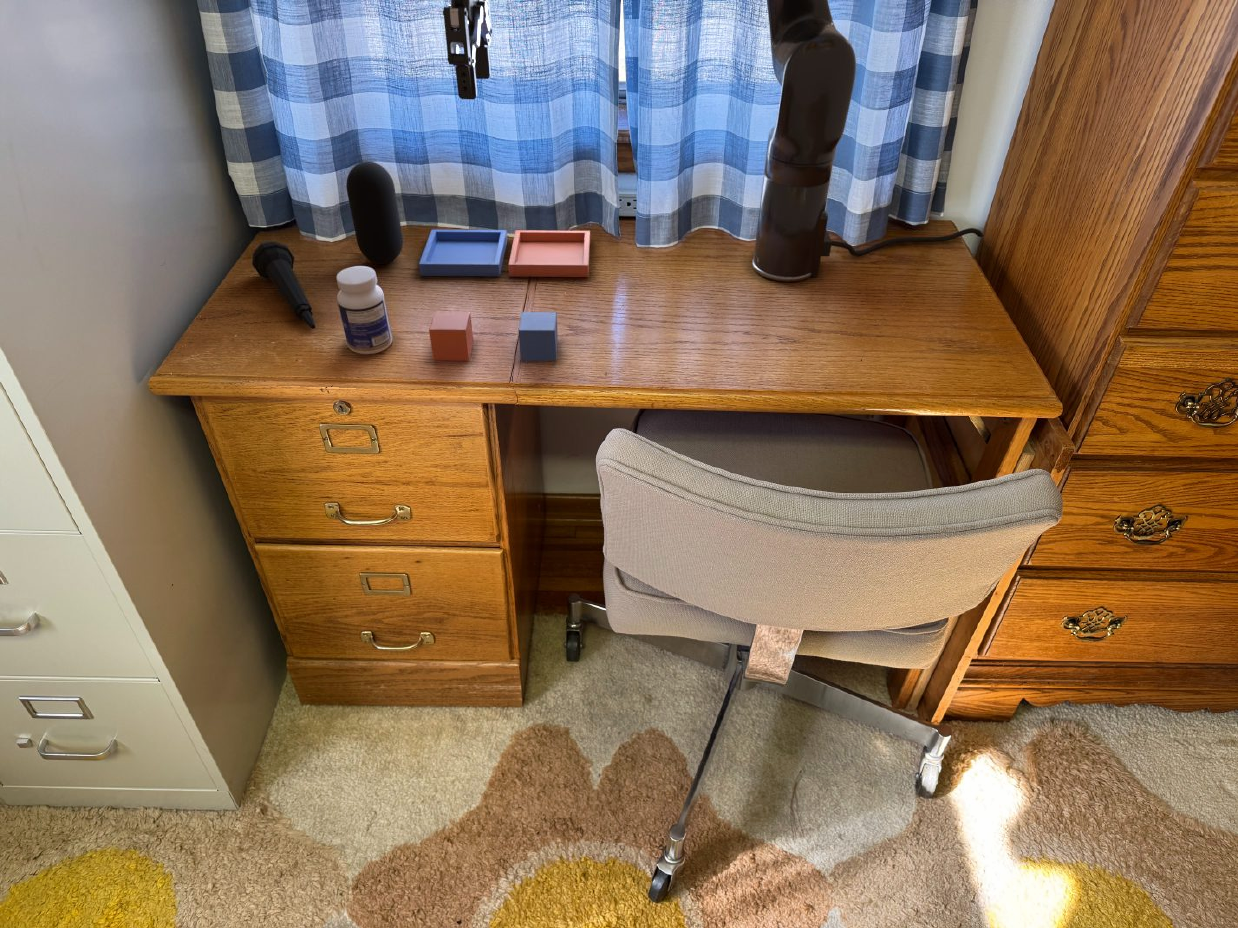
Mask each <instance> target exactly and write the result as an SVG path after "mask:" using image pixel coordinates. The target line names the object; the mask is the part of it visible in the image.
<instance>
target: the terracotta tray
mask: <svg viewBox="0 0 1238 928" xmlns="http://www.w3.org/2000/svg"><path fill="white" fill-rule="evenodd" d="M512 241H513V242H512V246H511V251H510V256H509V261H508V265H507V266H508V276H509V277H527V278H528V277H533V278H535V277H538V278H539V277H541V278H543V277H545V278H547V277H548V278H555V277H556V278H589V274H590V273H589V270H590V253H591V230H545V229H544V230H542V229H541V230H539V229H538V230H537V229H536V230H535V229H534V230H533V229H530V230H529V229H528V230H526V229H524V230H523V229H520V230H519V229H516V230H514V236H513V239H512Z"/></svg>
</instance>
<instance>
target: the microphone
mask: <svg viewBox="0 0 1238 928" xmlns="http://www.w3.org/2000/svg"><path fill="white" fill-rule="evenodd" d="M294 262H295V257H294V254H293V253H292V252H291V250H290V249H289V247H288V245H286V244H283V243H281V242H278V241H272V240H268V241H264V242H261V243H259V245H258V246H257V247H256V248H255V249H254V252H253V253H252V262H251V265H252V267H253V268H254V270H255V271H256V273H257V274H258V275H259V277H261V278H265V279H267V280H270V281H271V282H272V283H273V285H274V286H275V288H276V289H277V290H278V292H279V293H280V295H281V296H282V297H283V299H284V301H285V302H286V303H287V304H288V306H289V307H290V308H291V310H292V311H293V312H294V314H295V315H296V317H298V318H299V319H300V320H301V321H303V322H304V323H305V324H306V325H307V326H308V327H309V328H310V329H312V330H314V329H315V328H316V324H315V320H314V317H313V312H312V309H313V308H312V306H311V304H310V302H309V300H308V298H307V296H306V293H305V291H304V290H303V288H302V285H301V284H300V282H299V280H298V278H297V275H296V273H295V272H294V270H293V269H294Z"/></svg>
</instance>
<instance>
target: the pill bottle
mask: <svg viewBox="0 0 1238 928" xmlns="http://www.w3.org/2000/svg"><path fill="white" fill-rule="evenodd" d="M336 283H337V287H338V289H339V291H338V292H337V296H336V300H337V301H336V302H337V306H338V309H339V314H340V318H341V323H342V327H343V331H344V336H345V339H346V344H347V347H348V348H349V350H351V351H352V352H354V353H355V354H359V355H373V354H379V353H380V352H381V353H382V352H383V351H385V350H387V349H388V348H389V347H390V346H391V345H392V342H393V333H392V329H391V323H390V319H389V313H388V309H387V303H386V297H385V294H384V291H383V289H382V287H380V286H379V285H378V277H377V273H376V270H375V269H374V268H372V267H370V266H365V265H354V266H350V267H347V268H344V269H341V270H340V271H339V272H337V274H336Z"/></svg>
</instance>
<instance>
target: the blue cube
mask: <svg viewBox="0 0 1238 928" xmlns="http://www.w3.org/2000/svg"><path fill="white" fill-rule="evenodd" d="M519 318H520V319H519V325H518V345H519V356H520V358H519V359H520V361H521V362H556V361H557V358H558V357H557V356H558V346H559V333H558V312H556V311H555V312H554V311H521V313H520V317H519Z"/></svg>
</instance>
